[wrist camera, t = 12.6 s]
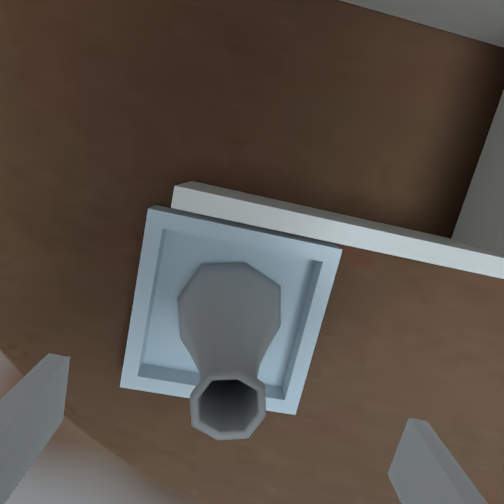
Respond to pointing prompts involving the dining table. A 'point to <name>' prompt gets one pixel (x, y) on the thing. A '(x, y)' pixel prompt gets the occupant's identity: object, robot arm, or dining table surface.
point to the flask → (228, 345)
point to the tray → (224, 251)
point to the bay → (379, 234)
